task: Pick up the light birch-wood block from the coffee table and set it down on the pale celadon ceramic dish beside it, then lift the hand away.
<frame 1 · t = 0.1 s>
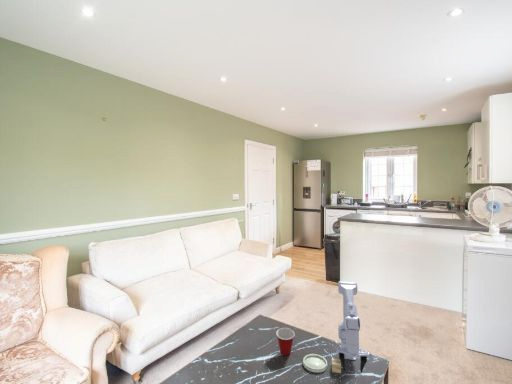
hand: (352, 370, 129), 10 cm above the table, tool pointing down, fingers open, 7 cm apart
celadon dish: (315, 364, 149), on the table
birch block: (336, 369, 144), on the table
plastic cup: (285, 353, 159), on the table
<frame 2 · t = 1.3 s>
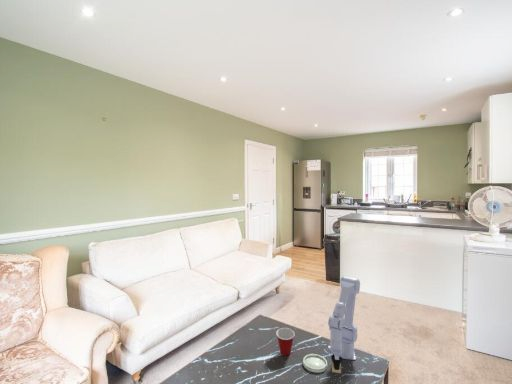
hand: (336, 364, 144), 3 cm above the table, tool pointing down, fingers open, 7 cm apart
nothing on the table moved.
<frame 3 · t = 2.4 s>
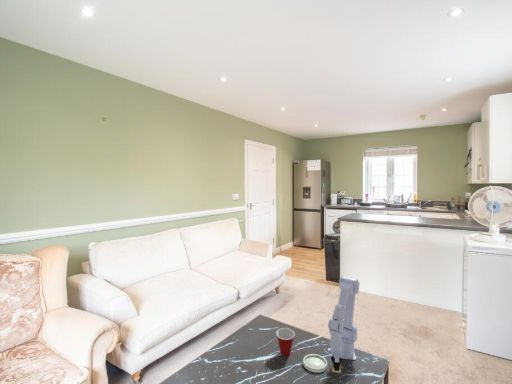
hand: (336, 367, 144), 1 cm above the table, tool pointing down, fingers closed on birch block, 4 cm apart
birch block: (336, 369, 144), on the table, touching gripper
everything else where it was.
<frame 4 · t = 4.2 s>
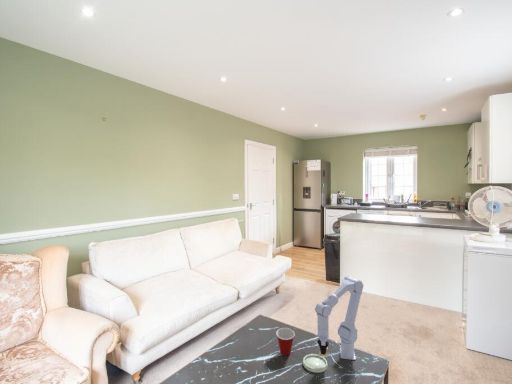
hand: (323, 351, 146), 8 cm above the table, tool pointing down, fingers closed on birch block, 4 cm apart
birch block: (323, 353, 146), point 7 cm above the table, touching gripper
everything else where it was.
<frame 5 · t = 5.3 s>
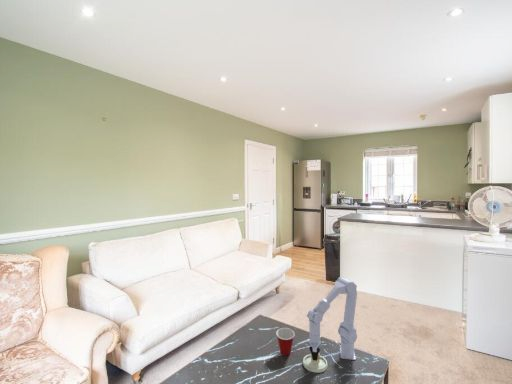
hand: (315, 357, 148), 4 cm above the table, tool pointing down, fingers closed on birch block, 4 cm apart
birch block: (315, 359, 148), point 3 cm above the table, touching gripper
everything else where it was.
when the fingers open (4 cm above the table, at t = 6.2 s): birch block drops 1 cm, resting on celadon dish.
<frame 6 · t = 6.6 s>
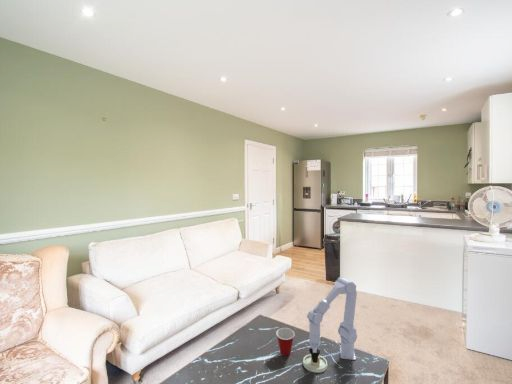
hand: (315, 357, 148), 4 cm above the table, tool pointing down, fingers open, 7 cm apart
birch block: (315, 363, 149), point 1 cm above the table, touching celadon dish
everything else where it was.
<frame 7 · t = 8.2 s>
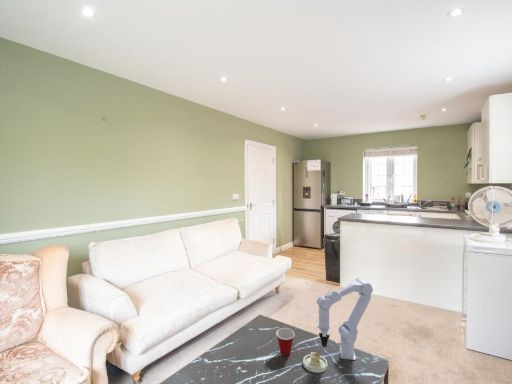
hand: (324, 342, 153), 9 cm above the table, tool pointing down, fingers open, 7 cm apart
nothing on the table moved.
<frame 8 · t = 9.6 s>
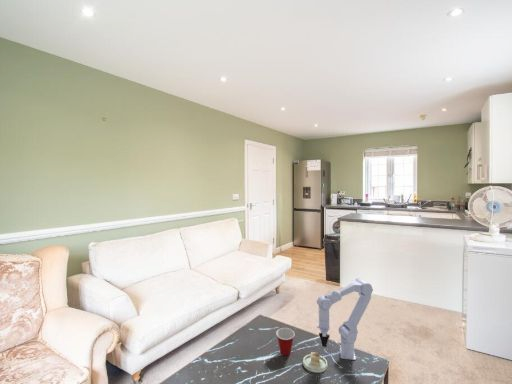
hand: (324, 342, 153), 9 cm above the table, tool pointing down, fingers open, 7 cm apart
nothing on the table moved.
at the end: birch block inside the target area on the celadon dish (0.2 cm from its centre), point 0.8 cm above the celadon dish's base; birch block tilted 0°; the gripper is holding nothing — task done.
